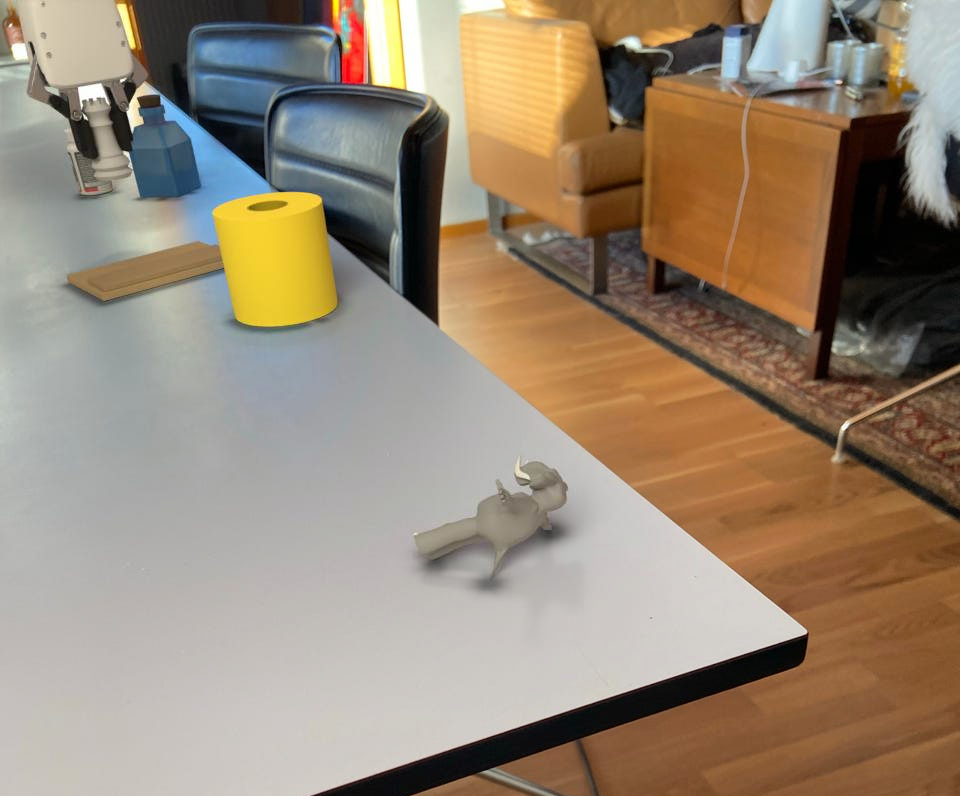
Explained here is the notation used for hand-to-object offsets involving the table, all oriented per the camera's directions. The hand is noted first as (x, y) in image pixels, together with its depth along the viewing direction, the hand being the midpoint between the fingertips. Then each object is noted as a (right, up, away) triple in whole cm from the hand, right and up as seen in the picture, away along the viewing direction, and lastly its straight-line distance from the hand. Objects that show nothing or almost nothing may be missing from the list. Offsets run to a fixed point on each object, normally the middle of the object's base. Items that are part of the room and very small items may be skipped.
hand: (107, 152), depth 115 cm
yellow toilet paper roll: (+23, -23, -17) cm, 37 cm away
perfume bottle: (-2, +8, +29) cm, 30 cm away
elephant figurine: (+43, -51, -57) cm, 88 cm away
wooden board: (+7, -15, -4) cm, 17 cm away
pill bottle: (-13, +9, +32) cm, 36 cm away
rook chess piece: (0, -2, +2) cm, 3 cm away
